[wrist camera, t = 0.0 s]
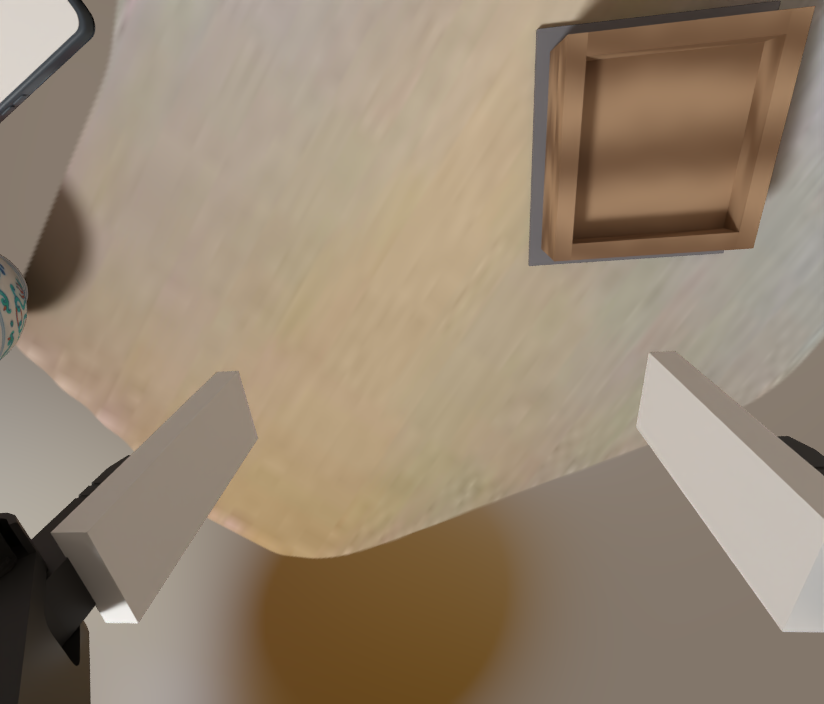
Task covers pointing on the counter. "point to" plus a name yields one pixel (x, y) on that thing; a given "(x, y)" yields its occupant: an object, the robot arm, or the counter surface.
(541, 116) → the mat
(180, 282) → the counter surface
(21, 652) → the robot arm
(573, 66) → the crate
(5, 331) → the chinaware
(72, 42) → the smartphone
